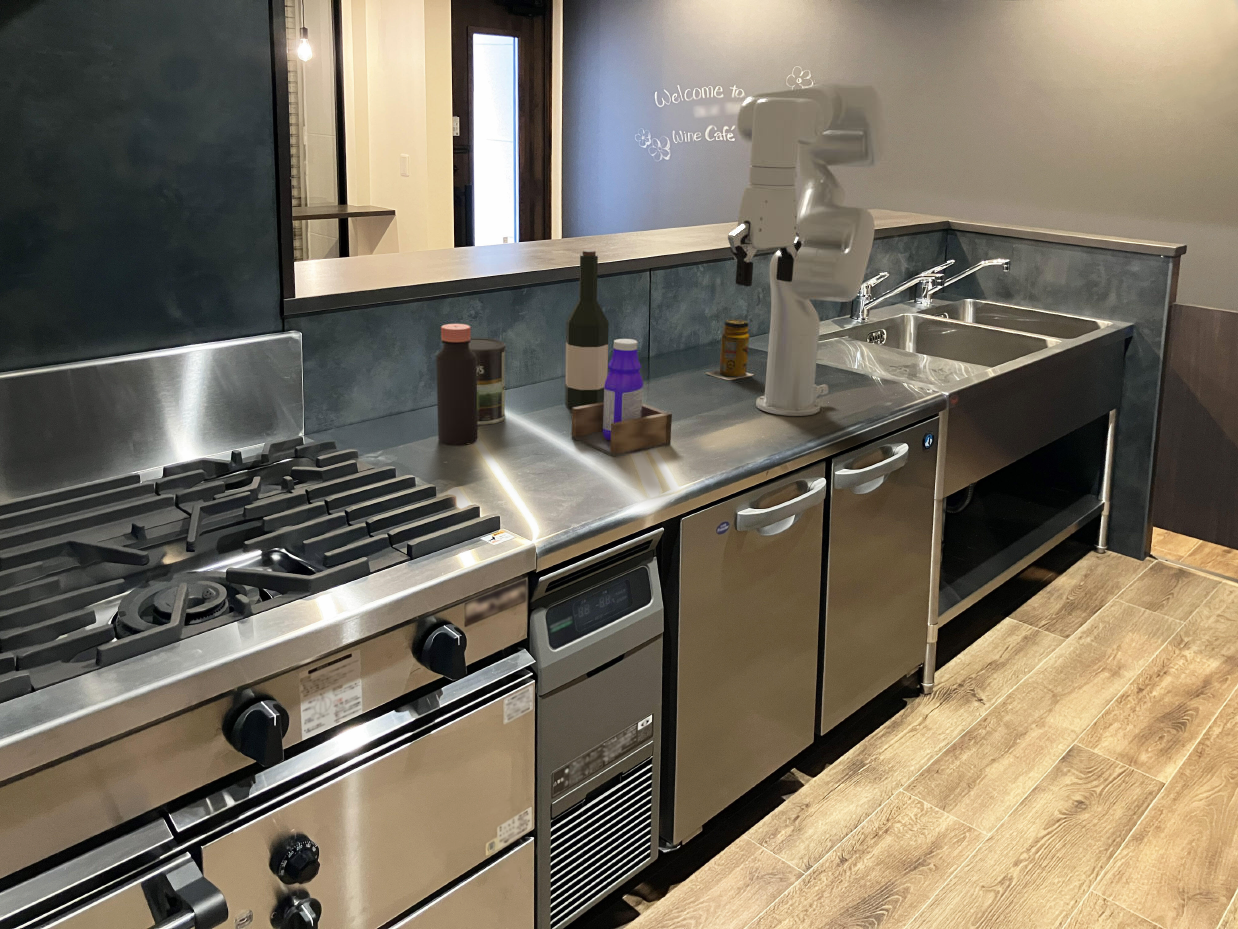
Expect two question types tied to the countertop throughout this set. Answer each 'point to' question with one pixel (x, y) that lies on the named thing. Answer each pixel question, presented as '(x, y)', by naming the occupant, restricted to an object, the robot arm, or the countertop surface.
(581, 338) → the wine bottle
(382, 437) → the countertop surface
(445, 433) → the vinegar
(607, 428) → the bottle
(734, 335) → the condiment
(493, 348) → the coffee can
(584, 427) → the u rest
